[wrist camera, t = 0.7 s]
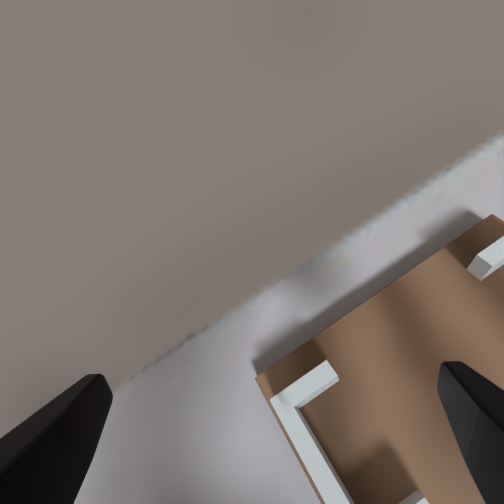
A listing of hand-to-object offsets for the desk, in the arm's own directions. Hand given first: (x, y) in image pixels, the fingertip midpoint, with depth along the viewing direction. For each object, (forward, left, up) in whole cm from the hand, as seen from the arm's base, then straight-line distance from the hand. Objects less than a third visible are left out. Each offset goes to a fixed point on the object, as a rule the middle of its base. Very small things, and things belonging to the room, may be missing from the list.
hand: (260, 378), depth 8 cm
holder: (-3, -8, -13) cm, 16 cm away
